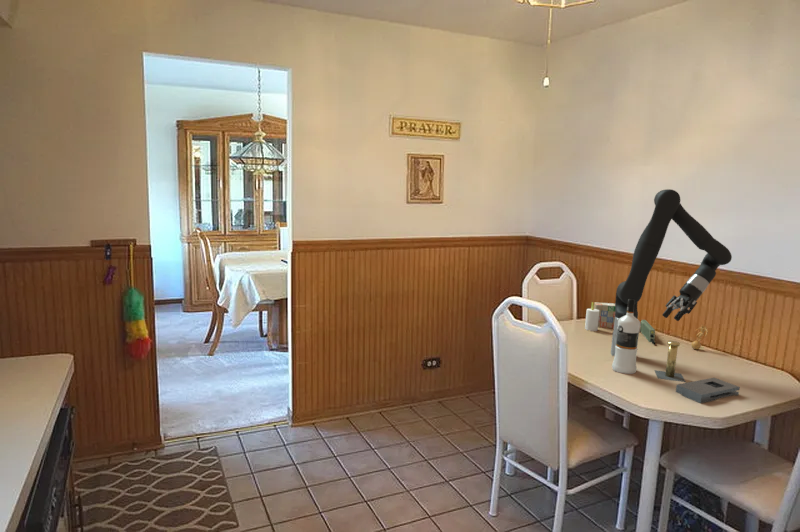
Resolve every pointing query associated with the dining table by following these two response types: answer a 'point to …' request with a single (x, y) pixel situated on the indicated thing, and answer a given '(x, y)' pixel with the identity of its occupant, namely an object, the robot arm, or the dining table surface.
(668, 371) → the brass pin
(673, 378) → the rubber mat
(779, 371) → the dining table surface
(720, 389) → the slotted grey base plate
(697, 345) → the figurine
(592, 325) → the candle
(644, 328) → the handheld radio
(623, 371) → the vodka
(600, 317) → the stack of blocks
